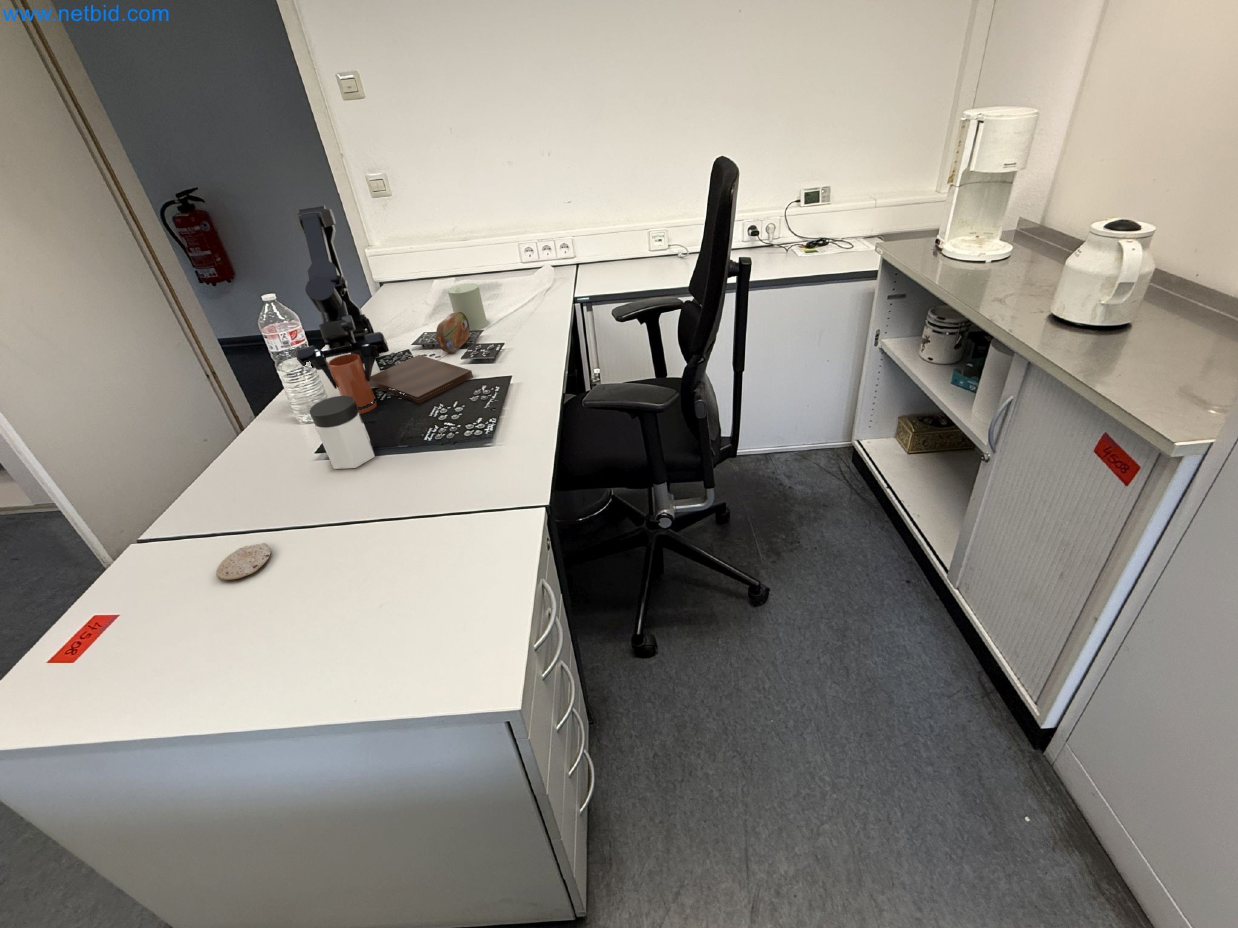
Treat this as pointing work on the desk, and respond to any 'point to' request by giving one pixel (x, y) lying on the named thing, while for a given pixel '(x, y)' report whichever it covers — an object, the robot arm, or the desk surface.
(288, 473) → the desk surface
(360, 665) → the desk surface
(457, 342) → the tin
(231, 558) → the flatbread
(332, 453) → the jar
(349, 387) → the pen cup
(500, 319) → the desk surface
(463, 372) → the board
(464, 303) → the can
